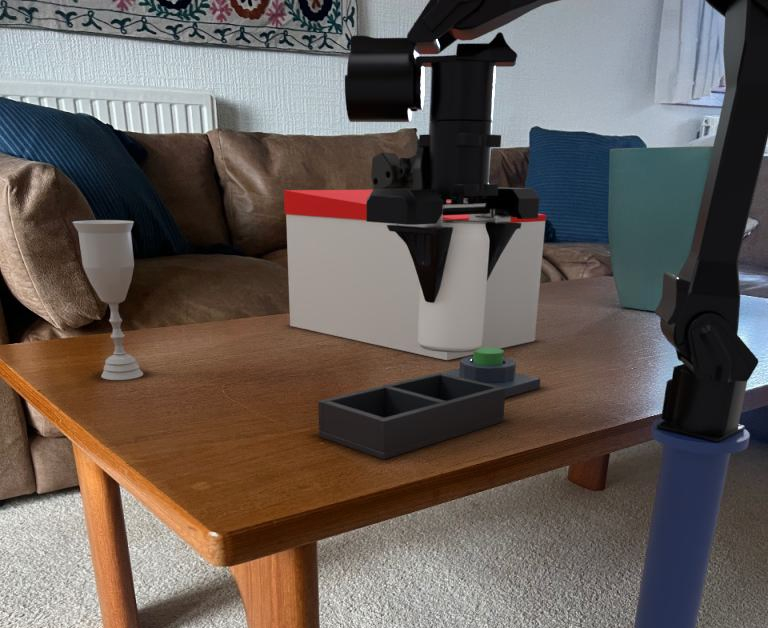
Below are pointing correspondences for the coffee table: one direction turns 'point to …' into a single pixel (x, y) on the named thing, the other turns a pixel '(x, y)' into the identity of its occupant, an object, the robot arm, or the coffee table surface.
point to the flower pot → (652, 217)
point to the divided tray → (410, 414)
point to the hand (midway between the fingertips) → (453, 298)
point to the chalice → (110, 281)
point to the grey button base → (497, 376)
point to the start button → (488, 356)
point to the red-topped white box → (392, 276)
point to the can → (458, 293)
